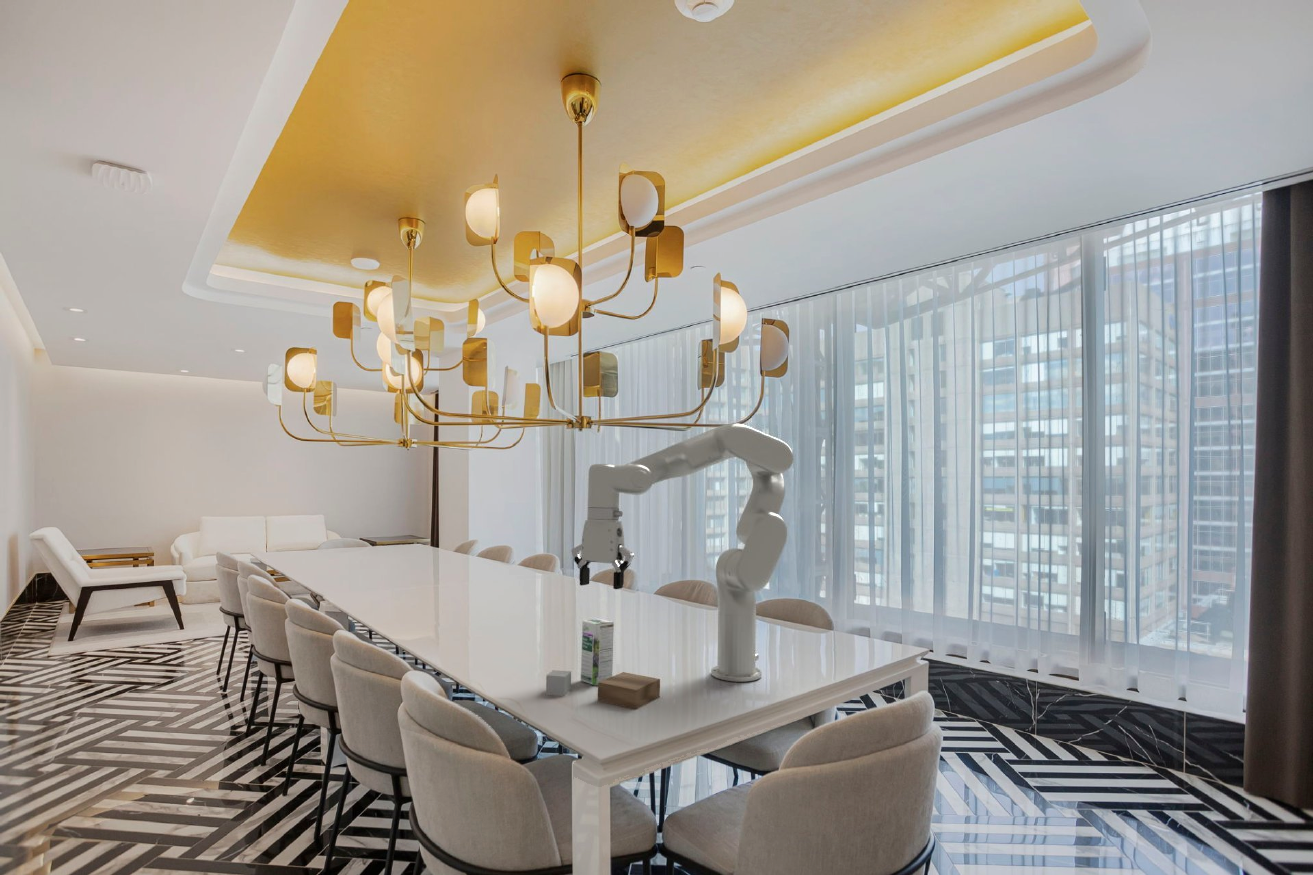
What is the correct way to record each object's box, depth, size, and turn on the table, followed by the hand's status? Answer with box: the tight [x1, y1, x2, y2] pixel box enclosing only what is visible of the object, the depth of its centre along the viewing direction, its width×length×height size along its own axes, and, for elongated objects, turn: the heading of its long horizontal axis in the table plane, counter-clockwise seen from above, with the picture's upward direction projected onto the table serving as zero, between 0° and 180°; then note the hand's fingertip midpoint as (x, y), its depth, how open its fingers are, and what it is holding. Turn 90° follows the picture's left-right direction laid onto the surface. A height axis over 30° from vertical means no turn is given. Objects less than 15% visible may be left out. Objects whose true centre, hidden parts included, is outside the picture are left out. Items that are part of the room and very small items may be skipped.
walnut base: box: [597, 671, 661, 710], centre depth 154 cm, size 10×10×4 cm
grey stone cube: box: [545, 669, 572, 697], centre depth 158 cm, size 4×4×4 cm
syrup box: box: [580, 618, 615, 686], centre depth 168 cm, size 6×6×14 cm
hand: (601, 586), depth 166 cm, fingers open, 9 cm apart
